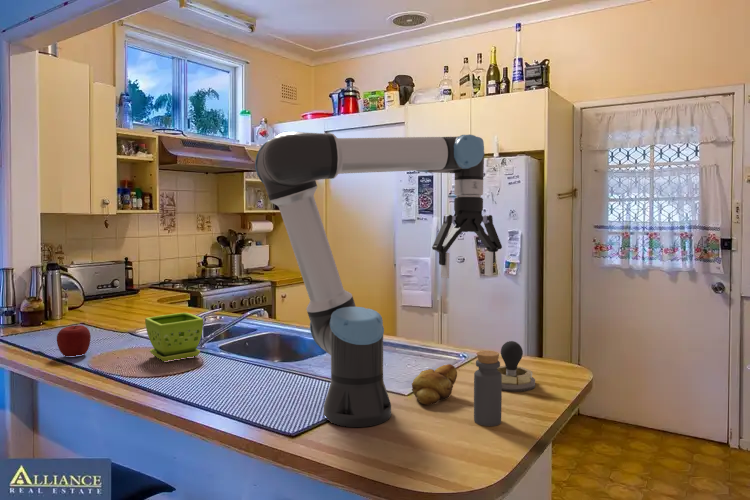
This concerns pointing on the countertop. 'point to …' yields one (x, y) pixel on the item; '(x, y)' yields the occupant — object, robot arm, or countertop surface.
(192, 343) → the flower pot
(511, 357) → the light bulb
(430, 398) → the bread roll
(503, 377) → the octagonal rimmed dish
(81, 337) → the apple
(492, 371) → the bottle
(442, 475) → the countertop surface
